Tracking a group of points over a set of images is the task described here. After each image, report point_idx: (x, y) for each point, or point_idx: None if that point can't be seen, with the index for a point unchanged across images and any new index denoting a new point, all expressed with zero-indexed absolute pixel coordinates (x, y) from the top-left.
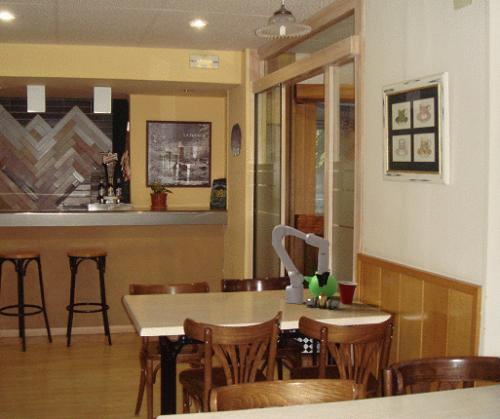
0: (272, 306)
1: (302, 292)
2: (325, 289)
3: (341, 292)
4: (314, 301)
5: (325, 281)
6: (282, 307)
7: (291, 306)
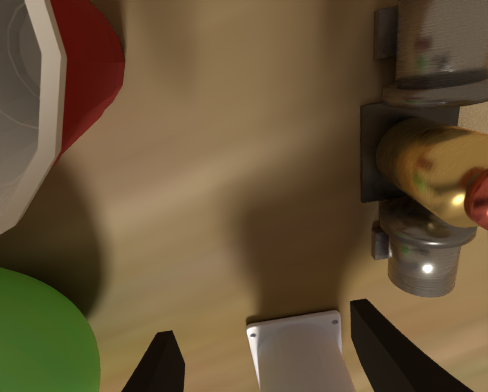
0: (470, 376)
1: (321, 387)
2: (49, 326)
3: (97, 104)
4: None
5: (161, 390)
6: (481, 337)
7: (432, 318)
